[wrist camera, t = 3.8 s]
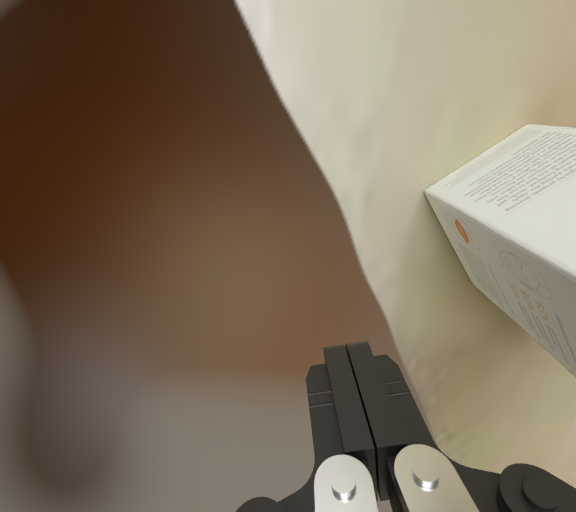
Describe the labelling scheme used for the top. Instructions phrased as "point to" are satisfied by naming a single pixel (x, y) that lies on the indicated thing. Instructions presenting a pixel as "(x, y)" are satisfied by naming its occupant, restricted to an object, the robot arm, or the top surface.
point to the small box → (520, 230)
